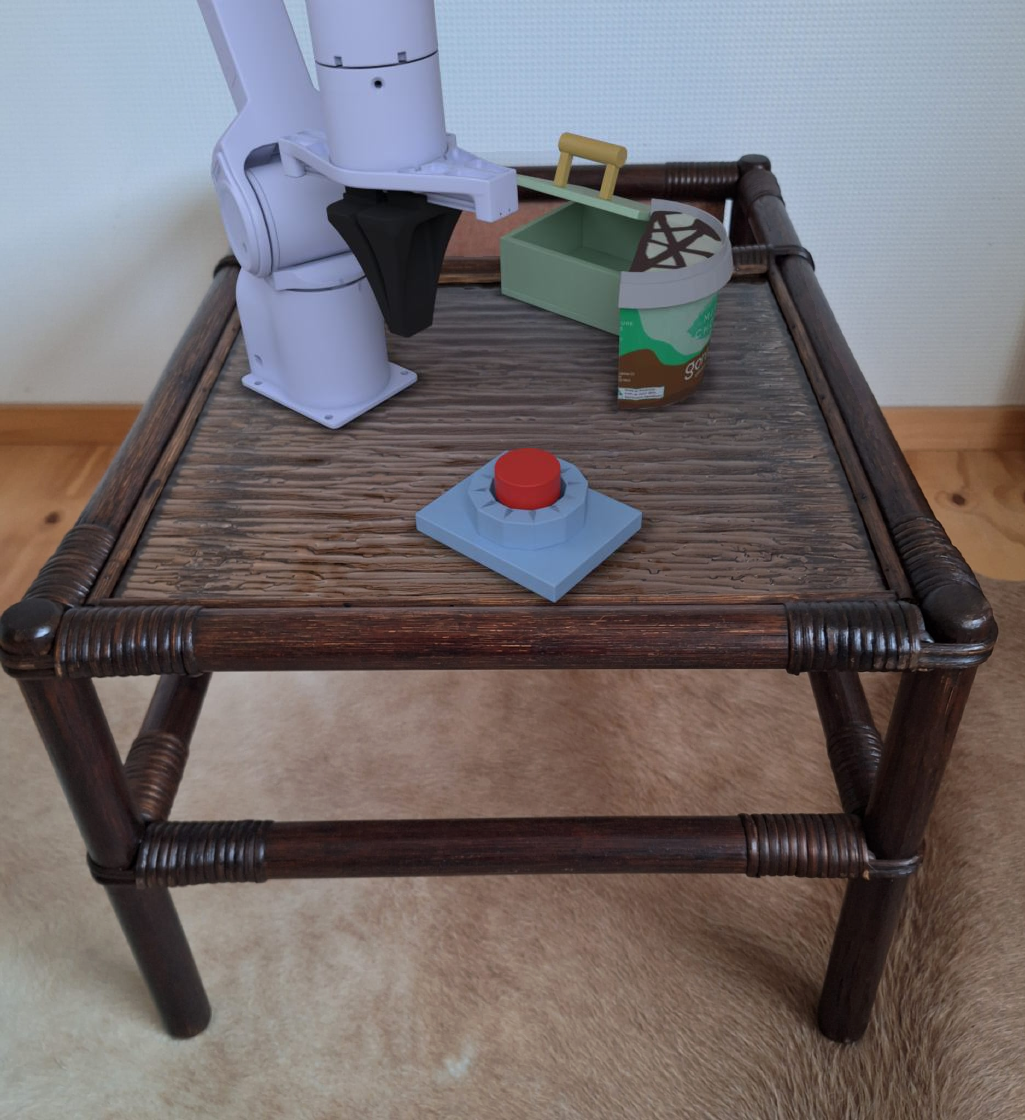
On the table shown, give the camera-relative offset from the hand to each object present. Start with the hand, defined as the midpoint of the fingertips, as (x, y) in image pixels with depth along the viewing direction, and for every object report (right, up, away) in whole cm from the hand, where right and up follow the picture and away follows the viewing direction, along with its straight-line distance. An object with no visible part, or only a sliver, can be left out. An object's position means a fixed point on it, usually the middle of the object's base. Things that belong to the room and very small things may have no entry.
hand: (411, 328), depth 58 cm
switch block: (+6, -11, +3) cm, 13 cm away
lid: (+12, +14, +21) cm, 28 cm away
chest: (+13, +8, +26) cm, 30 cm away
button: (+6, -9, +2) cm, 11 cm away
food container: (+17, 0, +16) cm, 23 cm away
